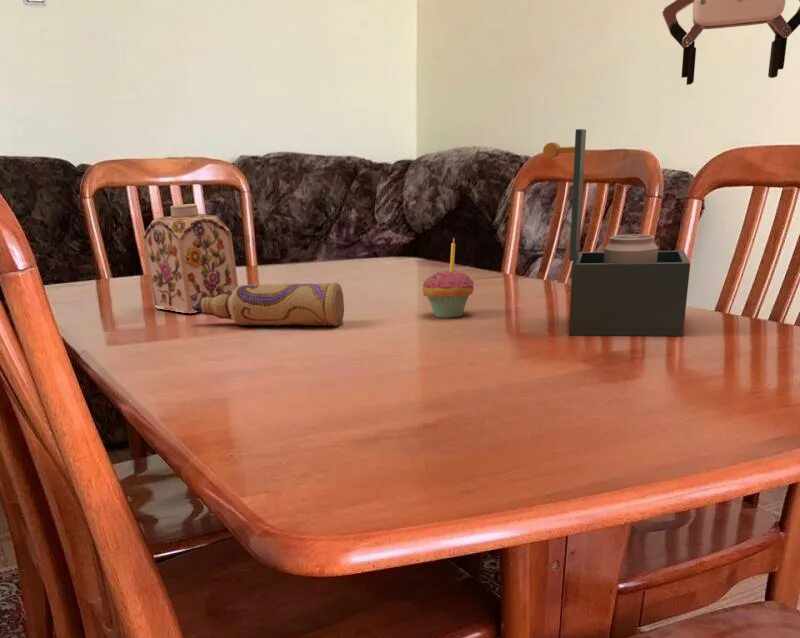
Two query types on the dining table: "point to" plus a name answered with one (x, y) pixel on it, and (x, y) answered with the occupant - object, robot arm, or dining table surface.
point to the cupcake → (448, 290)
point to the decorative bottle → (278, 304)
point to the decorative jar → (189, 258)
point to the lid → (578, 176)
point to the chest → (629, 296)
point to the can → (631, 249)
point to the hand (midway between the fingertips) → (730, 80)
